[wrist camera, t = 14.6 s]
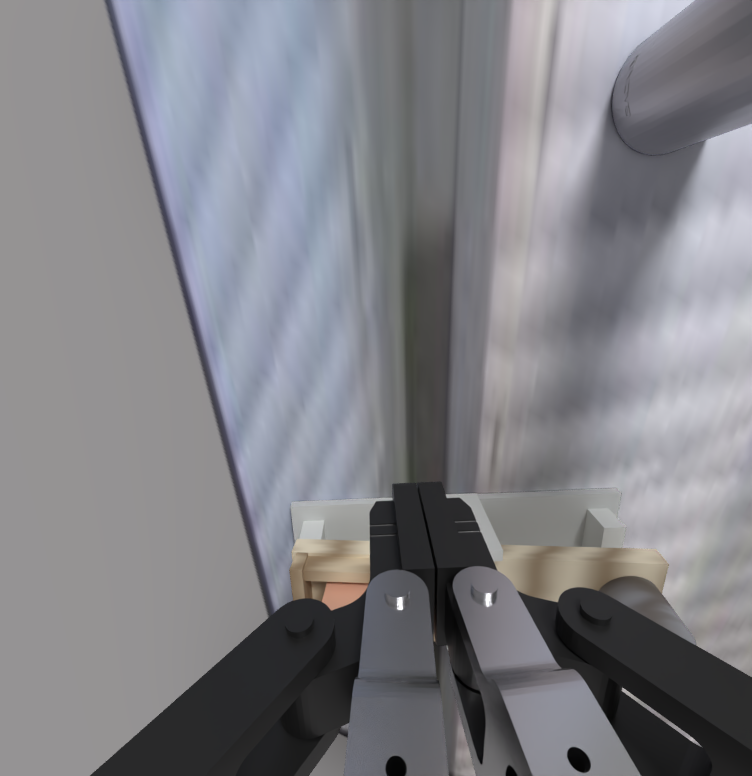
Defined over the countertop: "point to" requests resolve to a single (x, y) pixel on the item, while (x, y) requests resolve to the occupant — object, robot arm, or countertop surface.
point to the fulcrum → (488, 518)
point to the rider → (342, 593)
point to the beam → (514, 573)
